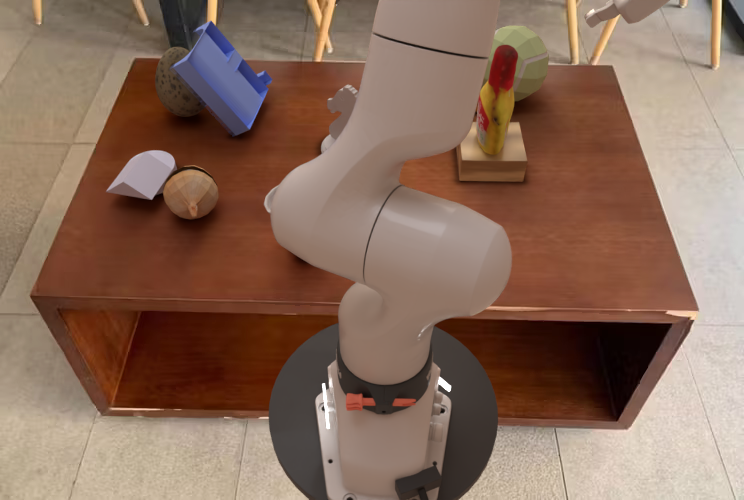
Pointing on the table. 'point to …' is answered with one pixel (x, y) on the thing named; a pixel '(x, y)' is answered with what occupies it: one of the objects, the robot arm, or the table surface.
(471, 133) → the birch block
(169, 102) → the decorative egg
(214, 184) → the acorn
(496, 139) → the bottle
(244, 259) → the table surface
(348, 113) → the chess piece
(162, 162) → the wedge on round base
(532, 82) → the decorative sphere
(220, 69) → the blue plastic box
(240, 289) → the table surface
